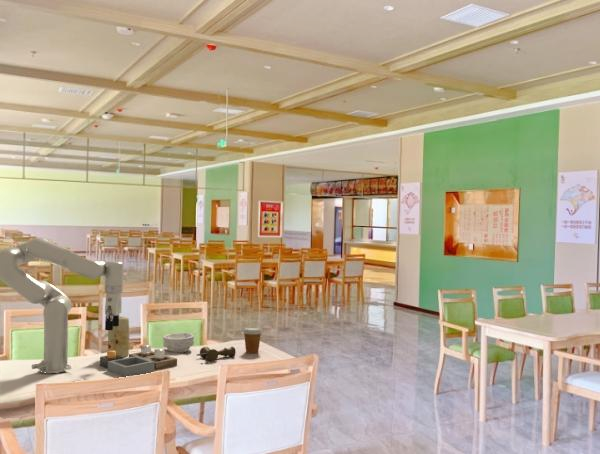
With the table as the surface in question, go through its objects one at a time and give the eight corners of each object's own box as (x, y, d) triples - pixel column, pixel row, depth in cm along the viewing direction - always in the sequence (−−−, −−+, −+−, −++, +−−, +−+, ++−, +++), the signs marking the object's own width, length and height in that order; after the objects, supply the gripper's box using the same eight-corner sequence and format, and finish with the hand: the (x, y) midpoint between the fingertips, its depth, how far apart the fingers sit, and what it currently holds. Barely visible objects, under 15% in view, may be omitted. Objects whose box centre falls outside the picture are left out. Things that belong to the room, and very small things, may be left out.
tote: (125, 379, 226) (125, 367, 226) (107, 372, 236) (107, 361, 236) (154, 373, 237) (154, 361, 237) (136, 367, 246) (136, 355, 246)
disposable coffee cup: (240, 350, 282) (240, 327, 282) (257, 349, 287) (258, 326, 286) (246, 354, 274) (246, 330, 274) (264, 353, 278) (264, 329, 278)
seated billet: (144, 362, 251) (144, 347, 251) (139, 360, 254) (139, 345, 253) (152, 360, 254) (153, 345, 254) (147, 359, 257) (147, 344, 257)
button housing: (107, 371, 238) (108, 359, 238) (99, 368, 243) (100, 356, 243) (122, 368, 244) (122, 357, 244) (114, 365, 248) (114, 354, 248)
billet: (157, 366, 243) (158, 351, 243) (152, 365, 246) (152, 349, 246) (166, 365, 247) (166, 349, 247) (161, 363, 250) (161, 347, 250)
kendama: (238, 359, 267) (200, 363, 255) (229, 355, 275) (192, 359, 263) (238, 347, 267) (200, 350, 256) (229, 343, 275) (192, 346, 264)
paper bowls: (157, 350, 279) (157, 335, 279) (183, 346, 289) (183, 331, 289) (173, 356, 268) (173, 339, 268) (199, 351, 279) (199, 336, 279)
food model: (127, 356, 266) (128, 315, 266) (130, 359, 260) (131, 317, 260) (106, 358, 261) (107, 316, 261) (109, 361, 255) (109, 318, 255)
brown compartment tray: (177, 367, 247) (177, 358, 247) (156, 372, 239) (156, 362, 239) (149, 358, 261) (149, 350, 261) (128, 362, 253) (129, 354, 253)
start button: (109, 362, 241) (109, 352, 241) (105, 361, 243) (105, 351, 243) (117, 361, 244) (117, 351, 244) (113, 359, 246) (113, 349, 246)
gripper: (116, 291, 235) (115, 332, 235) (127, 287, 252) (125, 324, 252) (98, 291, 234) (97, 331, 234) (110, 286, 252) (109, 324, 252)
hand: (111, 328), depth 243 cm, fingers open, 8 cm apart
